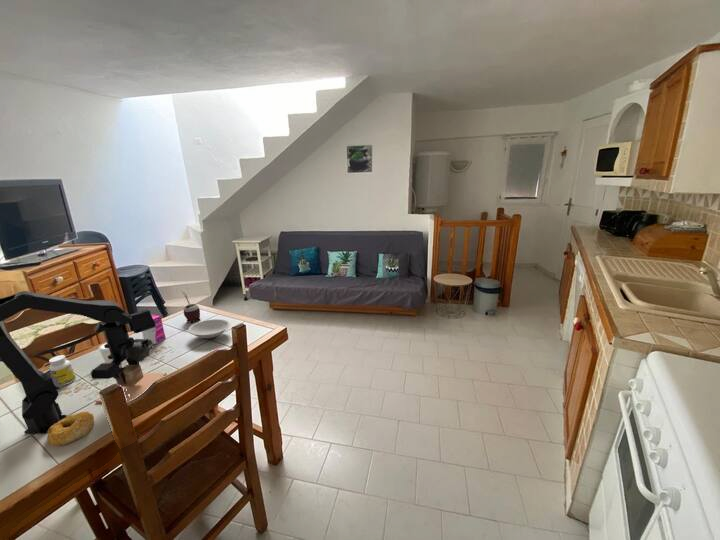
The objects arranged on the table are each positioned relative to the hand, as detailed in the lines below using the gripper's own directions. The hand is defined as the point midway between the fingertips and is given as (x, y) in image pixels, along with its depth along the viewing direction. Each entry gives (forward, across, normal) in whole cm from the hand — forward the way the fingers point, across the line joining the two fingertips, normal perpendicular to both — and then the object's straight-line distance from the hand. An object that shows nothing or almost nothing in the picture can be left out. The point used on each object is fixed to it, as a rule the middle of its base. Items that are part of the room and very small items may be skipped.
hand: (130, 378), depth 102 cm
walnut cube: (+1, 0, 0) cm, 1 cm away
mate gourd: (+4, +49, +7) cm, 50 cm away
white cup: (+4, +16, +20) cm, 26 cm away
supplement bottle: (+4, +3, +27) cm, 27 cm away
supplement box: (+4, +30, +13) cm, 33 cm away
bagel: (+4, -18, +4) cm, 19 cm away
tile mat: (+4, 0, 0) cm, 4 cm away
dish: (+4, +34, -10) cm, 36 cm away
